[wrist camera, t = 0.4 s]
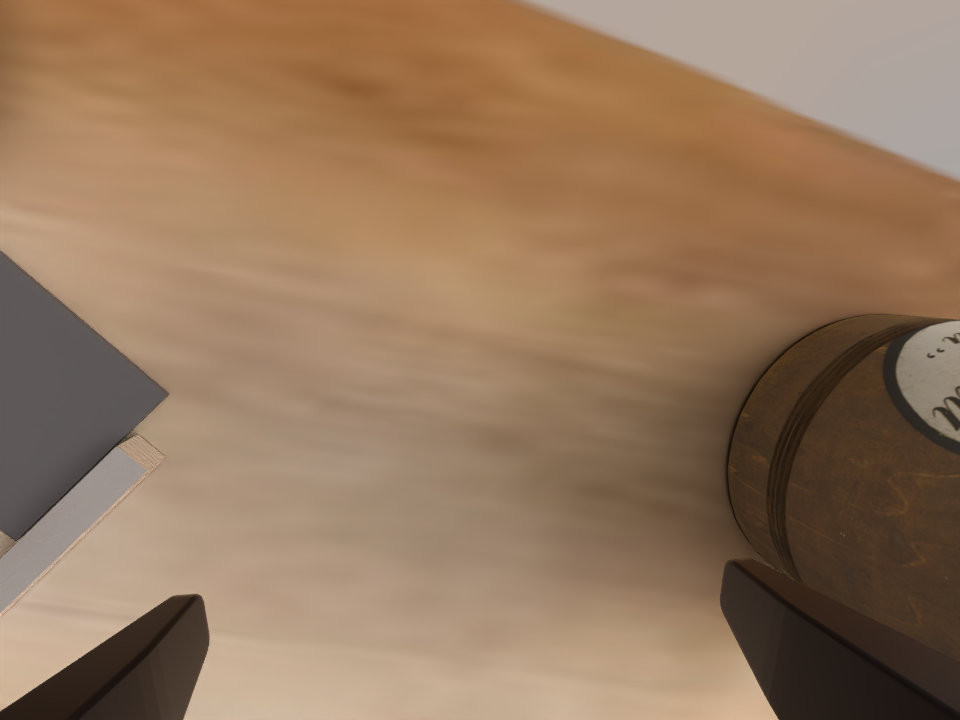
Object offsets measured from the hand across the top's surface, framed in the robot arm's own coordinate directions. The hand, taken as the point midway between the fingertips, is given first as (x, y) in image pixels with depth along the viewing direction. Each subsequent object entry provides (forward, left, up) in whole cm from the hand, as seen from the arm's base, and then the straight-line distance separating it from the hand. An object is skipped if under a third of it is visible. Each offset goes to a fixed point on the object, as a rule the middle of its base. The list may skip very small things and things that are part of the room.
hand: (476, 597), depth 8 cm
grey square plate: (-1, +18, -14) cm, 23 cm away
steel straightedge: (-10, +18, -14) cm, 25 cm away
